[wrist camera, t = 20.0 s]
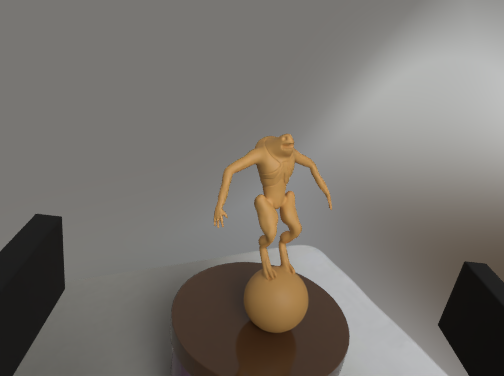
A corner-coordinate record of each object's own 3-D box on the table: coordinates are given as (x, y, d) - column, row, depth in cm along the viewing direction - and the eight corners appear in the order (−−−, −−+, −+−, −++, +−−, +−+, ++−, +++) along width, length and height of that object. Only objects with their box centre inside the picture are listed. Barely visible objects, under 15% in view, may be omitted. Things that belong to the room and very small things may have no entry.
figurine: (227, 367, 23) (260, 163, 18) (185, 299, 27) (202, 122, 23) (340, 327, 27) (390, 153, 22) (287, 274, 32) (320, 121, 27)
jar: (164, 494, 24) (174, 396, 21) (163, 342, 34) (169, 261, 31) (349, 470, 27) (382, 381, 23) (296, 337, 37) (314, 261, 34)
